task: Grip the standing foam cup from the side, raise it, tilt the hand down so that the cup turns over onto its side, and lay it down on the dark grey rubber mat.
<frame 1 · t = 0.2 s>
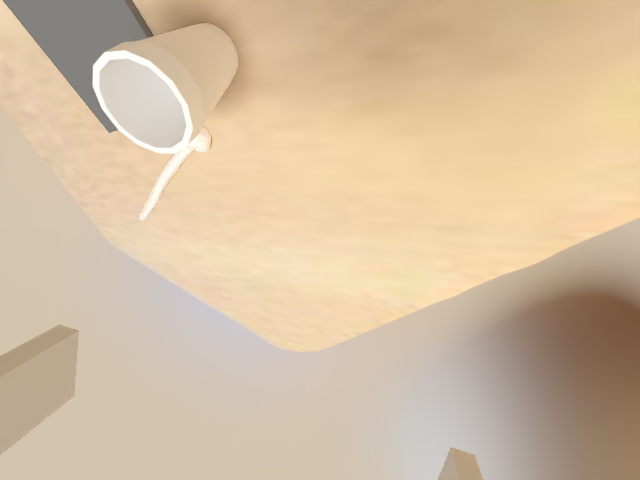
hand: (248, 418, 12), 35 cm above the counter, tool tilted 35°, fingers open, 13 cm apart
foam cup: (213, 53, 41), on the counter
white long knobbed rod: (173, 180, 58), on the counter
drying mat: (96, 39, 44), on the counter
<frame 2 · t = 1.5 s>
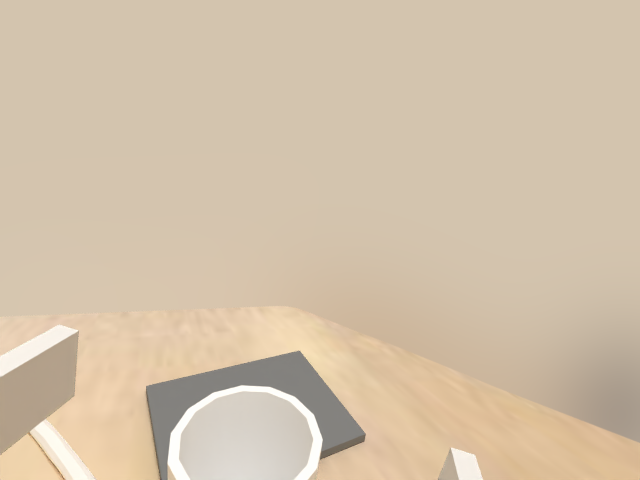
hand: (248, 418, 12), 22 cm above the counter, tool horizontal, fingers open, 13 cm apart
white long knobbed rod: (30, 447, 35), on the counter
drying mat: (251, 416, 41), on the counter
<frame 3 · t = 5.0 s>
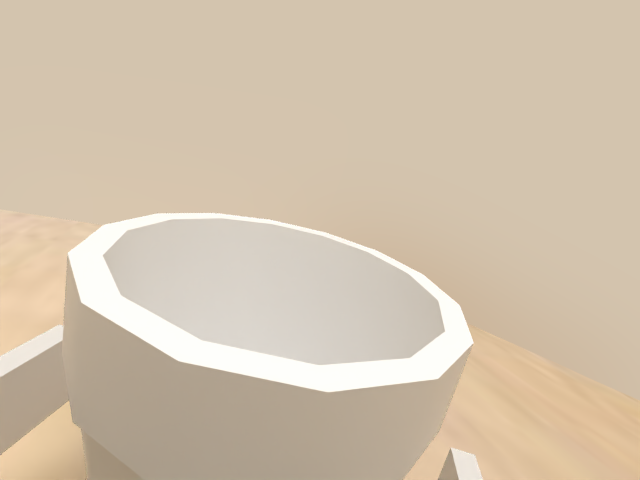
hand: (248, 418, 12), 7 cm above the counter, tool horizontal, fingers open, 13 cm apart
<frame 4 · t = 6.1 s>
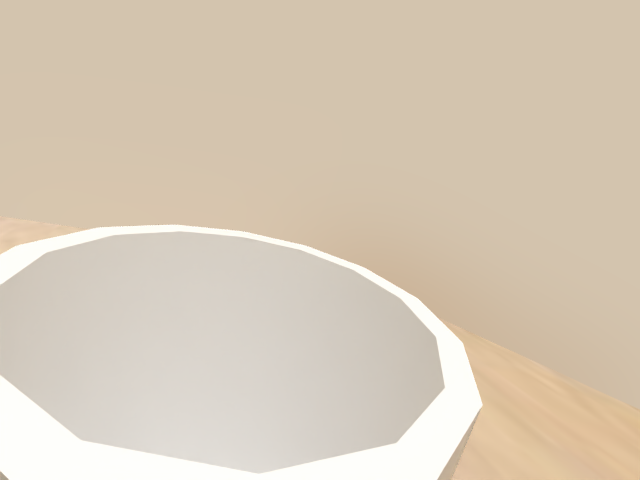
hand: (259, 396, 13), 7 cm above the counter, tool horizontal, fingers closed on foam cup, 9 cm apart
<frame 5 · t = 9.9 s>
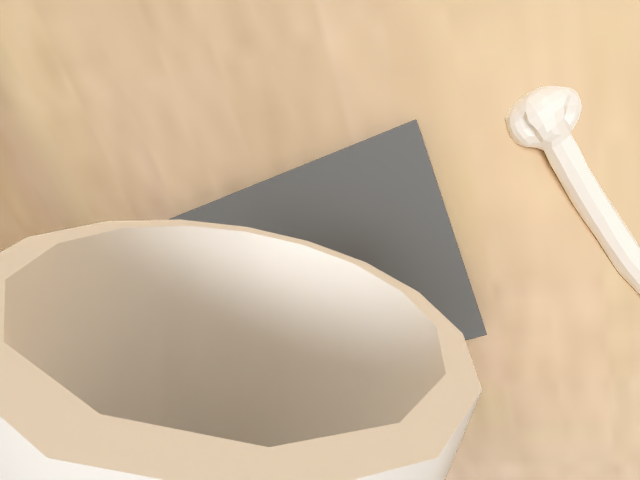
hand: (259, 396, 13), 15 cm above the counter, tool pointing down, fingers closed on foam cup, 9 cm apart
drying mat: (321, 272, 28), on the counter
when the fingers open (3 cm above the counter, at t = 12.8 s): foam cup drops 2 cm, resting on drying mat.
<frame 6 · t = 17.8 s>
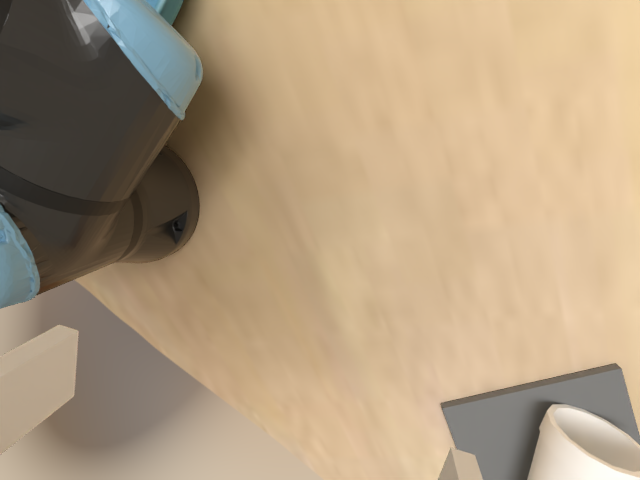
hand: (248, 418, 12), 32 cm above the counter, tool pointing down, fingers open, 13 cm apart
casserole dish: (81, 30, 43), on the counter
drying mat: (541, 439, 45), on the counter
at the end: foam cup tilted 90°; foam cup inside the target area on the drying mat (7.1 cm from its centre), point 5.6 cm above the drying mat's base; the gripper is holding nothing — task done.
